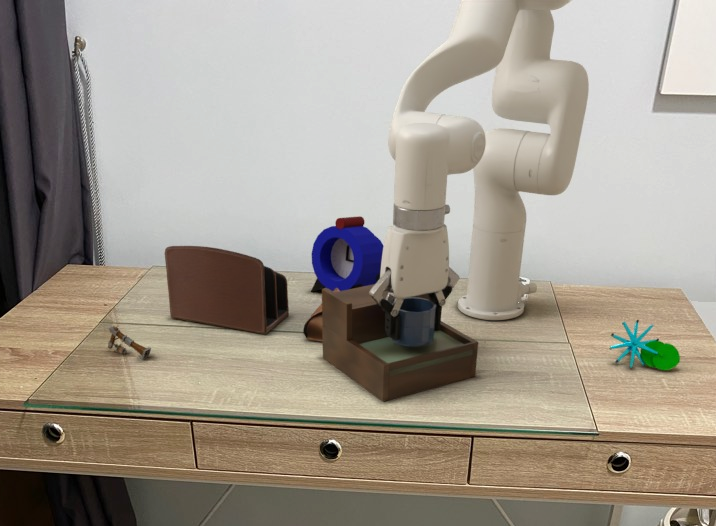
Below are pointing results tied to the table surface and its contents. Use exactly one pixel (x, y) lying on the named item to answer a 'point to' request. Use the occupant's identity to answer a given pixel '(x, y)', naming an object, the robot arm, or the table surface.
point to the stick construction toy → (648, 350)
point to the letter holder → (224, 289)
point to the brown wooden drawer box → (389, 348)
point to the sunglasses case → (315, 325)
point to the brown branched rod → (128, 341)
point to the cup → (417, 322)
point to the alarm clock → (346, 256)
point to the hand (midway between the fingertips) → (412, 332)
